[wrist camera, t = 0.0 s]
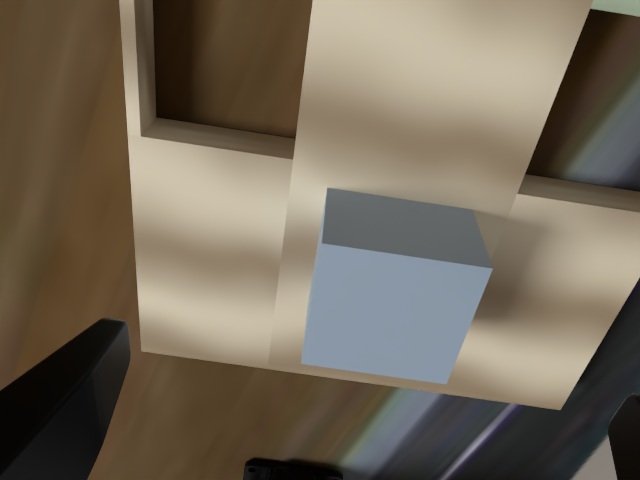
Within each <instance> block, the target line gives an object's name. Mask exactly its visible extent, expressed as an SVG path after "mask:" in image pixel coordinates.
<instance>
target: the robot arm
mask: <svg viewBox="0 0 640 480" xmlns="http://www.w3.org/2000/svg"><path fill="white" fill-rule="evenodd" d="M129 362H130V341H129V328H128V324H127V322H126V321H124V320H118V319H111V318H103V319H100V320H99V321H97V322H96V323H94V324H93V325H92V326H90V327H89V328H87V329H86V330H84V331H83V332H82V333H80V334H79V335H77V336H76V337H75V338H73V339H72V340H70V341H69V342H68V343H66V344H65V345H63V346H62V347H61V348H59V349H58V350H56V351H55V352H54V353H52V354H51V355H49V356H48V357H47V358H45V359H44V360H42V361H41V362H40V363H38V364H37V365H35V366H34V367H32V368H31V369H30V370H28V371H27V372H25V373H24V374H23V375H21V376H20V377H18V378H17V379H16V380H14V381H13V382H11V383H10V384H9V385H7V386H6V387H4V388H3V389H2V390H0V480H87V479H88V476H89V474H90V472H91V470H92V468H93V466H94V463H95V461H96V459H97V457H98V454H99V452H100V450H101V447H102V445H103V442H104V439H105V436H106V433H107V430H108V427H109V424H110V421H111V418H112V415H113V412H114V409H115V406H116V403H117V400H118V397H119V394H120V391H121V388H122V385H123V382H124V379H125V376H126V373H127V370H128V366H129ZM608 436H609V441H610V446H611V451H612V455H613V460H614V465H615V470H616V475H617V480H640V394H630V395H628V396H627V397H626V398H625V400H624V401H623V403H622V404H621V406H620V407H619V408H618V410H617V411H616V413H615V414H614V416H613V417H612V419H611V420H610V422H609V426H608ZM243 480H343V475H342V473H340V472H337V471H330V470H322V469H315V468H307V467H300V466H293V465H285V464H278V463H270V462H263V461H256V460H249V461H247V462H246V463H245V468H244V477H243Z"/></svg>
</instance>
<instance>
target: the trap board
mask: <svg viewBox="0 0 640 480" xmlns="http://www.w3.org/2000/svg"><path fill="white" fill-rule="evenodd" d="M119 3H120V19H121V35H122V51H123V66H124V82H125V98H126V114H127V129H128V145H129V161H130V177H131V193H132V208H133V224H134V240H135V256H136V271H137V287H138V303H139V319H140V334H141V350H142V351H144V352H151V353H158V354H165V355H172V356H179V357H187V358H194V359H201V360H208V361H215V362H222V363H229V364H236V365H244V366H251V367H258V368H265V369H272V370H279V371H286V372H293V373H300V374H308V375H315V376H322V377H329V378H336V379H343V380H350V381H357V382H365V383H372V384H379V385H386V386H393V387H400V388H407V389H414V390H421V391H429V392H436V393H443V394H450V395H457V396H464V397H471V398H478V399H486V400H493V401H500V402H507V403H514V404H521V405H528V406H535V407H542V408H550V409H557V410H561V408H562V406H563V405H564V403H565V401H566V400H567V398H568V396H569V395H570V393H571V391H572V390H573V388H574V386H575V385H576V383H577V381H578V380H579V378H580V376H581V375H582V373H583V371H584V370H585V368H586V366H587V365H588V363H589V361H590V360H591V358H592V356H593V355H594V353H595V351H596V350H597V348H598V346H599V345H600V343H601V341H602V340H603V338H604V336H605V335H606V333H607V331H608V330H609V328H610V326H611V325H612V323H613V321H614V320H615V318H616V316H617V315H618V313H619V311H620V310H621V308H622V306H623V305H624V303H625V301H626V300H627V298H628V296H629V295H630V293H631V291H632V290H633V288H634V286H635V285H636V283H637V281H638V280H639V278H640V192H638V191H632V190H625V189H619V188H612V187H606V186H599V185H593V184H586V183H580V182H573V181H567V180H560V179H554V178H547V177H541V176H534V175H528V174H525V173H526V170H527V168H528V165H529V163H530V160H531V157H532V155H533V152H534V150H535V147H536V145H537V142H538V140H539V137H540V135H541V132H542V130H543V127H544V124H545V122H546V119H547V117H548V114H549V112H550V109H551V107H552V104H553V102H554V99H555V97H556V94H557V91H558V89H559V86H560V84H561V81H562V79H563V76H564V74H565V71H566V69H567V66H568V64H569V61H570V59H571V56H572V53H573V51H574V48H575V46H576V43H577V41H578V38H579V36H580V33H581V31H582V28H583V26H584V23H585V20H586V18H587V15H588V13H589V10H590V9H597V10H603V11H609V12H615V13H621V14H627V15H633V16H639V17H640V0H313V3H312V11H311V19H310V27H309V36H308V44H307V52H306V60H305V68H304V76H303V84H302V92H301V100H300V109H299V117H298V125H297V133H296V139H294V138H287V137H281V136H274V135H268V134H261V133H255V132H248V131H242V130H235V129H229V128H222V127H216V126H209V125H203V124H196V123H190V122H183V121H177V120H170V119H164V118H157V117H156V91H155V59H154V27H153V0H119ZM327 188H333V189H340V190H346V191H353V192H360V193H366V194H373V195H379V196H386V197H393V198H399V199H406V200H412V201H419V202H426V203H432V204H439V205H445V206H452V207H459V208H465V209H472V210H473V212H474V215H475V218H476V221H477V224H478V226H479V229H480V232H481V235H482V238H483V241H484V244H485V247H486V250H487V253H488V256H489V259H490V262H491V265H492V268H493V270H492V272H491V275H490V277H489V280H488V282H487V285H486V287H485V290H484V292H483V295H482V297H481V300H480V302H479V305H478V307H477V310H476V312H475V315H474V317H473V320H472V322H471V325H470V327H469V330H468V332H467V335H466V337H465V339H464V342H463V344H462V347H461V349H460V352H459V354H458V357H457V359H456V362H455V364H454V367H453V369H452V372H451V374H450V377H449V379H448V382H447V384H440V383H433V382H426V381H419V380H412V379H405V378H398V377H390V376H383V375H376V374H369V373H362V372H355V371H348V370H341V369H334V368H327V367H320V366H312V365H305V364H301V360H302V351H303V342H304V334H305V325H306V316H307V308H308V299H309V293H310V287H311V281H312V275H313V269H314V263H315V257H316V251H317V245H318V240H319V234H320V228H321V222H322V216H323V210H324V204H325V198H326V192H327Z"/></svg>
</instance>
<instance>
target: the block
mask: <svg viewBox="0 0 640 480" xmlns="http://www.w3.org/2000/svg"><path fill="white" fill-rule="evenodd" d="M492 270H493V268H492V265H491V262H490V259H489V256H488V253H487V250H486V247H485V244H484V241H483V238H482V235H481V232H480V229H479V226H478V224H477V221H476V218H475V215H474V212H473V210H472V209H465V208H459V207H452V206H445V205H439V204H432V203H426V202H419V201H412V200H406V199H399V198H393V197H386V196H379V195H373V194H366V193H360V192H353V191H346V190H340V189H333V188H327V192H326V198H325V204H324V210H323V216H322V222H321V228H320V234H319V240H318V245H317V251H316V257H315V263H314V269H313V275H312V281H311V287H310V293H309V299H308V308H307V316H306V325H305V334H304V342H303V351H302V360H301V364H305V365H312V366H320V367H327V368H334V369H341V370H348V371H355V372H362V373H369V374H376V375H383V376H390V377H398V378H405V379H412V380H419V381H426V382H433V383H440V384H447V382H448V379H449V377H450V374H451V372H452V369H453V367H454V364H455V362H456V359H457V357H458V354H459V352H460V349H461V347H462V344H463V342H464V339H465V337H466V335H467V332H468V330H469V327H470V325H471V322H472V320H473V317H474V315H475V312H476V310H477V307H478V305H479V302H480V300H481V297H482V295H483V292H484V290H485V287H486V285H487V282H488V280H489V277H490V275H491V272H492Z"/></svg>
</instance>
